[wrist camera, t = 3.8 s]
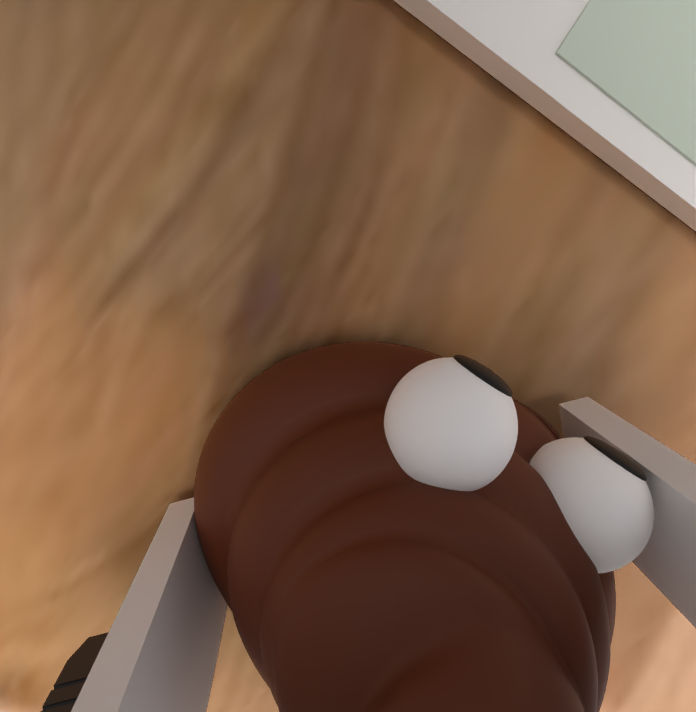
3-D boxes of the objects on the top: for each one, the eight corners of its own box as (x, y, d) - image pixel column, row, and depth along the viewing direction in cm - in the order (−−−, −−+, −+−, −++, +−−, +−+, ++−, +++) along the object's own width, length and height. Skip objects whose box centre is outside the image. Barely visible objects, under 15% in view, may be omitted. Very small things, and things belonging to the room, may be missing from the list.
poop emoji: (145, 531, 14) (-136, 1080, 5) (317, 249, 13) (343, 328, 4) (453, 680, 16) (641, 1270, 7) (632, 450, 15) (1156, 822, 6)
